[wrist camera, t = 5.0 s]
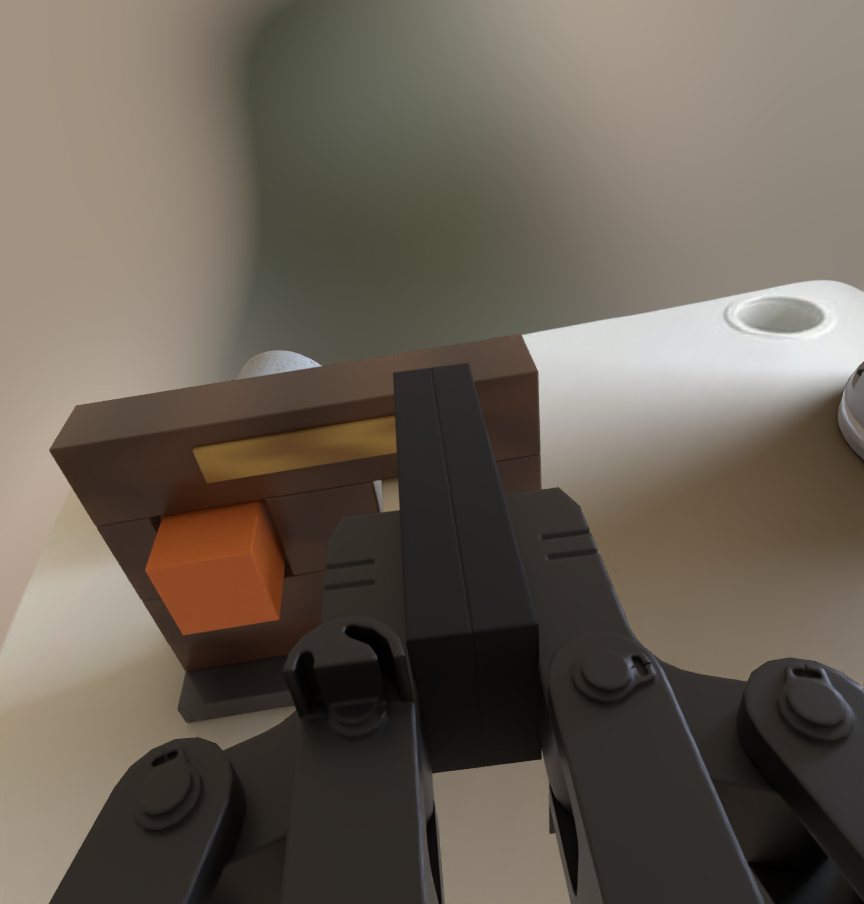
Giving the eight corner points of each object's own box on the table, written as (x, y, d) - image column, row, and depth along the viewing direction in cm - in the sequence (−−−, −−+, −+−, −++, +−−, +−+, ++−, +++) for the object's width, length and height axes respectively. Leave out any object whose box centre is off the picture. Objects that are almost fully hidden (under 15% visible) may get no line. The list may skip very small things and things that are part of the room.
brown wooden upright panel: (524, 556, 37) (511, 311, 28) (555, 662, 31) (552, 400, 22) (210, 607, 37) (91, 379, 28) (185, 723, 31) (26, 486, 22)
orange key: (286, 549, 30) (262, 483, 27) (279, 620, 27) (251, 552, 24) (200, 563, 30) (167, 499, 27) (183, 635, 27) (144, 570, 24)
